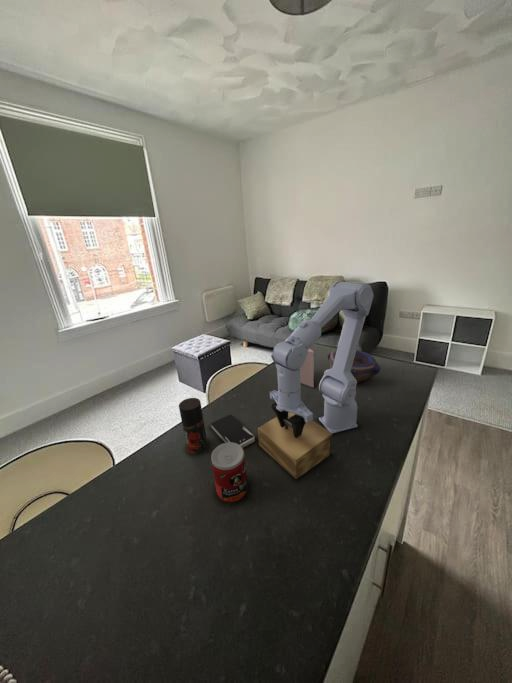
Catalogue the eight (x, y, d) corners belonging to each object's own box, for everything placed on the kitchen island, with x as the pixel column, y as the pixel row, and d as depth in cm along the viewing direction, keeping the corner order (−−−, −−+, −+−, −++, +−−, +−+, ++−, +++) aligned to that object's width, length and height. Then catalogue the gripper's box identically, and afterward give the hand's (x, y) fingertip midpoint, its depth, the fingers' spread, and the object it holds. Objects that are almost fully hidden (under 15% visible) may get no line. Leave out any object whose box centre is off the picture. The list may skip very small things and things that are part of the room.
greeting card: (315, 387, 109) (316, 352, 103) (297, 390, 107) (297, 355, 102) (304, 374, 119) (304, 341, 114) (287, 376, 118) (287, 344, 112)
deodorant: (211, 442, 84) (204, 400, 78) (199, 456, 79) (191, 412, 73) (195, 437, 86) (187, 396, 81) (183, 450, 81) (174, 407, 76)
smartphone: (230, 414, 94) (255, 437, 82) (230, 417, 95) (256, 440, 83) (210, 423, 90) (233, 449, 78) (210, 426, 91) (234, 452, 79)
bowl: (382, 388, 105) (385, 364, 101) (334, 390, 105) (335, 367, 102) (365, 366, 121) (367, 345, 118) (324, 369, 122) (325, 348, 118)
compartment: (290, 426, 88) (290, 412, 86) (329, 455, 76) (330, 439, 74) (259, 445, 81) (257, 430, 79) (296, 479, 69) (295, 463, 67)
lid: (292, 409, 86) (291, 397, 84) (332, 435, 74) (332, 421, 72) (257, 430, 79) (255, 417, 77) (295, 462, 67) (294, 448, 65)
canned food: (223, 509, 63) (217, 473, 59) (212, 484, 70) (206, 449, 66) (253, 494, 66) (250, 458, 62) (239, 471, 73) (235, 437, 69)
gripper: (259, 382, 74) (263, 423, 79) (297, 406, 63) (298, 452, 68) (279, 373, 78) (281, 413, 83) (319, 394, 67) (318, 439, 72)
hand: (290, 430), depth 76 cm, fingers closed on lid, 5 cm apart
